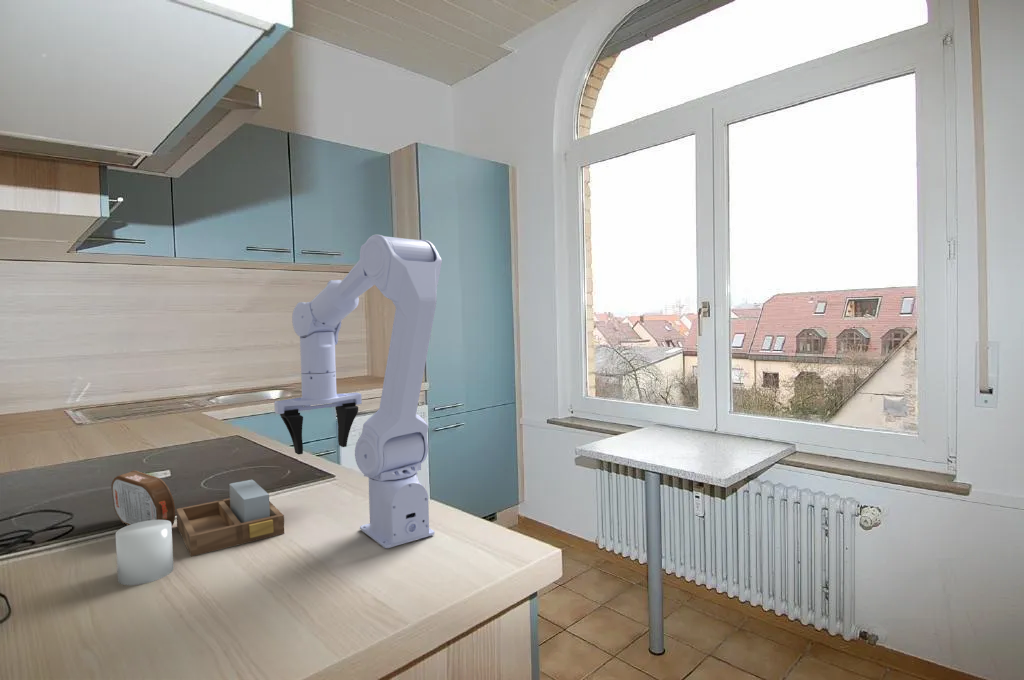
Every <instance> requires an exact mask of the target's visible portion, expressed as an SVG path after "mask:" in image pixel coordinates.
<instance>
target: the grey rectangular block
mask: <svg viewBox="0 0 1024 680" xmlns="http://www.w3.org/2000/svg"><path fill="white" fill-rule="evenodd" d="M228 486H229V498H230V510H231V511H232V512H233V514H234V515H235V516H236V518H237V519H238V520H239V521H240V523H244V522H248V521H253V520H257V519H261V518H266V517H270V506H269V501H270V494H269V493H268V492H267V491H266V490H265V489H264V488H263V487H261V486H260V485H259V484H258V483H257V482H256V481H255V480H253V479H248V480H242V481H241V480H240V481H237V482H232V483H229V485H228Z"/></svg>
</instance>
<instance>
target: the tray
mask: <svg viewBox="0 0 1024 680" xmlns="http://www.w3.org/2000/svg"><path fill="white" fill-rule="evenodd" d="M269 506H270V517H266V518H261V519H257V520H253V521H248V522H244V523H240V521H239V520H238V519H237V518H236V516H235V515H234V514H233V512H232V511H231V510H230V497H229V498H224V499H220V500H219V499H218V500H214V501H208V502H203V503H200V504H194V505H189V506H188V505H187V506H184V507H179V508H175V515H176V527H177V529H178V532H179V533H180V536H181V538H182V539H183V543H184V545H185V547H186V549H187V551H188V553H189V556H190V557H195V556H198V555H203V554H206V553H210V552H215V551H219V550H224V549H228V548H231V547H234V546H235V547H236V546H239V545H244V544H247V543H252V542H255V541H260V540H264V539H267V538H271V537H276V536H280V535H284V534H285V515H284V514H283V513H282V512H281V511H280V510H279V509H278V508H277V507H276V506H275V505H274V504H273V503H272V502H271V501H270V500H269Z"/></svg>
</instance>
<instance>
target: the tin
mask: <svg viewBox="0 0 1024 680" xmlns="http://www.w3.org/2000/svg"><path fill="white" fill-rule="evenodd" d="M110 487H111V494H112V496H111V497H112V501H113V509H114V512H115V514H116V516H117V517H118V519H119V520H120V522H121V523H123V524H124V523H125V524H128V525H131V524H134V523H138V522H143V521H149V520H168V521H170V522H171V525H172V527H173V526H174V524H175V519H176V507H175V506H176V505H175V501H174V498H173V495H172V492H171V490H170V488H169V486H168V485H167V484H166V482H165V481H164V480H163V479H162V478H160V477H157V476H154V475H150V474H147V473H144V472H140V471H139V470H131V471H130V472H126V473H122V474H120V475H117V476H115V477H114V479H113V480H112V482H111V486H110ZM125 524H124V525H125ZM128 525H127V526H128Z"/></svg>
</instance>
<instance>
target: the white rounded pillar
mask: <svg viewBox="0 0 1024 680" xmlns="http://www.w3.org/2000/svg"><path fill="white" fill-rule="evenodd" d="M172 527H173V526H172V525H171V522H170V521H168V520H149V521H143V522H138V523H134V524H131V525H126V526H124V527H123V526H122V527H121V528H120V529H118V530H117V531H116V532H115V549H116V550H115V551H116V567H117V569H116V571H117V582H118V583H119V584H120V585H123V586H139V585H144V584H149V583H152V582H156V581H158V580H161V579H163V578H165V577H167V576H168V575H170V574H171V573H172V572H173V571H174V567H175V566H174V551H173V548H174V547H173V531H172V529H173V528H172Z"/></svg>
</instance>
